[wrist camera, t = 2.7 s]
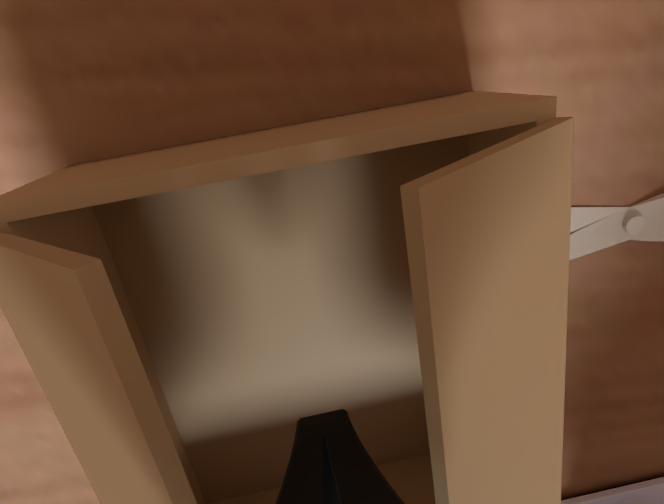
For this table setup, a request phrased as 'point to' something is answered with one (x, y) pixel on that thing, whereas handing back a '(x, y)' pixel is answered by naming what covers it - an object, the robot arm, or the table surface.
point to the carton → (273, 279)
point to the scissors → (615, 225)
